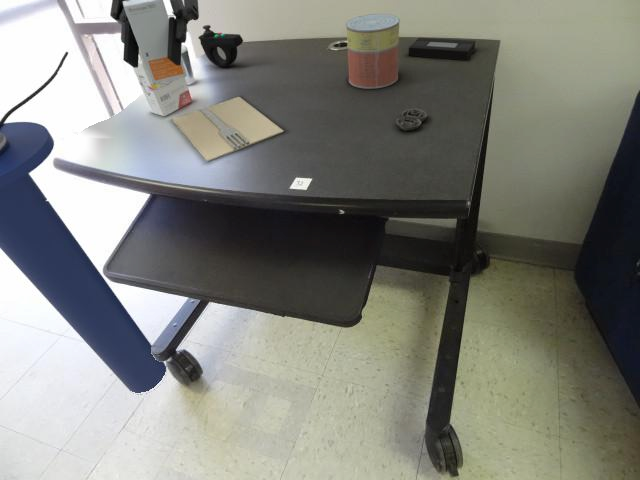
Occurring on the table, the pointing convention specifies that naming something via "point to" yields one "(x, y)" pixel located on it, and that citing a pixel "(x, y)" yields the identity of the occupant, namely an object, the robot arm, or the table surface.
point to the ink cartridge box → (162, 91)
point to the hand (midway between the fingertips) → (152, 62)
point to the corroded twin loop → (411, 119)
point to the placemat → (231, 115)
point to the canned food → (373, 50)
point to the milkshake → (187, 65)
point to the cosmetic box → (153, 38)
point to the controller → (220, 46)
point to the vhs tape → (442, 48)
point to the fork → (225, 130)
